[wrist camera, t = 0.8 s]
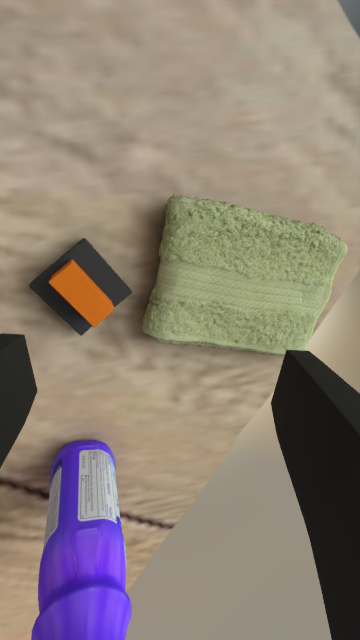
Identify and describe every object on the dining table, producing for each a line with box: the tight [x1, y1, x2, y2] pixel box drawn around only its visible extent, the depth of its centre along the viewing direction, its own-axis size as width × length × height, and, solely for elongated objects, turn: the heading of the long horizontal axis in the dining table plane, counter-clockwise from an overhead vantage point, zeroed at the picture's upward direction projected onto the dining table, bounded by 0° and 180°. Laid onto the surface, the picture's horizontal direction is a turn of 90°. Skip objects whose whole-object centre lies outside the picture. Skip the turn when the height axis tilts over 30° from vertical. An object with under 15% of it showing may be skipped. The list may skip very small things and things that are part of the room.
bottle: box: [32, 440, 132, 640], centre depth 23 cm, size 7×6×17 cm
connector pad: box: [29, 238, 132, 335], centre depth 24 cm, size 5×5×4 cm
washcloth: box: [142, 194, 347, 356], centre depth 28 cm, size 13×18×3 cm
